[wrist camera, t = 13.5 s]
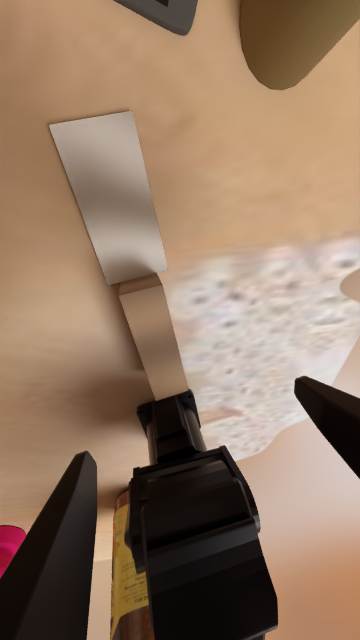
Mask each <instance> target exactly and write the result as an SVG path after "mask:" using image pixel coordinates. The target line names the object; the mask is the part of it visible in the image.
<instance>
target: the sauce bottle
mask: <svg viewBox="0 0 360 640" xmlns="http://www.w3.org/2000/svg"><path fill="white" fill-rule="evenodd" d="M128 501H129V490H128V491H126V492H124V493H122V494H121V495H120V496H119V497H118V498H117V500H116V503H115V512H114V517H113V552H112V584H111V585H112V590H111V632H110V640H155V639H154V633H153V630H152V628H151V623H150V613H149V602H148V592H147V582H146V571H145V572H142V573H140V574H137V573H136V570H135V564H134V560H133V558H132V552H131V550H130V549H129V548H128V547H127V546H126V545H125V542H124V533H125V525H126V518H127V511H128Z"/></svg>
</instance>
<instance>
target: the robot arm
mask: <svg viewBox="0 0 360 640" xmlns="http://www.w3.org/2000/svg"><path fill="white" fill-rule="evenodd" d="M294 393H295V396H296V398H297V399H298V401H299V402H300V403H301V405H302V406H303V408H304V409H305V411H306V412H307V414H308V415H309V416H310V418H311V419H312V421H313V422H314V424H315V425H316V426H317V428H318V429H319V430H320V432H321V433H322V434H323V436H324V437H325V438H326V439H327V440H328V442H330V444H331V445H332V446H333V448H334V449H335V450H336V451H337V452H338V454H339V455H340V456H341V457H342V458H343V460H344V461H345V462H346V463H347V464H348V466H349V467H350V468H351V469H352V470H353V471H354V473H355V474H356V475H357V476H358V478H359V479H360V398H358V397H355V396H352V395H350V394H348V393H345V392H343V391H341V390H338V389H336V388H333V387H331V386H329V385H326V384H324V383H321V382H319V381H317V380H314V379H312V378H309V377H307V376H301V377H299V378H296V379H295V386H294ZM188 395H189V396H188ZM140 410H142V411H140ZM137 415H138V417H139V419H140V422H141V424H142V426H143V429H144V431H145V433H146V436H147V438H148V449H149V460H150V465H149V466H145V467H141V468H140V467H137V468H133V478H131V481H130V482H129V501H128V511H127V518H126V525H125V533H124V542H125V545H126V546H127V547H128V548H129V549H130V550H131V552H132V558H133V560H134V564H135V570H136V573H137V574H140V573H142V572H145V571H146V582H147V592H148V602H149V613H150V623H151V628H152V630H153V633H154V639H155V640H265V633H267V632H269V631H271V630H274V629H276V628H277V626H278V605H277V596H276V593H275V590H274V587H273V584H272V581H271V578H270V575H269V572H268V569H267V566H266V563H265V559H264V556H263V553H262V549H261V545H260V542H259V538H258V533H259V532H260V519H259V514H258V510H257V507H256V503H255V500H254V498H253V495H252V492H251V490H250V488H249V486H248V484H247V482H246V480H245V478H244V476H243V475H242V473H241V471H240V470H239V468H238V467H237V465H236V463H235V461H234V460H233V458H232V456H231V455H230V453H229V451H228V450H227V448H226V446H225V445H223V446H219V448H216V449H212V450H208V451H207V449H206V446H205V443H204V440H203V437H202V434H201V431H200V428H201V425H200V421H199V417H198V412H197V408H196V403H195V399H194V395H193V392H192V391H186V392H182V393H179V394H176V395H173V396H170V397H167V398H164V399H161V400H158V401H154V402H151V403H148V404H145V405H141V406H139V407H138V408H137ZM96 522H97V465H96V462H95V460H94V459H93V458H92V456H91V455H90V453H89V452H88V451H84V452H81V453H78V454H76V455H75V457H74V458H73V460H72V461H71V463H70V465H69V466H68V468H67V470H66V471H65V473H64V475H63V476H62V478H61V480H60V481H59V483H58V484H57V486H56V488H55V489H54V491H53V493H52V494H51V496H50V498H49V499H48V501H47V502H46V504H45V506H44V507H43V509H42V511H41V512H40V514H39V516H38V517H37V519H36V520H35V522H34V524H33V525H32V527H31V529H30V530H29V532H28V534H27V535H26V537H25V539H24V540H23V542H22V543H21V545H20V547H19V548H18V550H17V552H16V553H15V555H14V557H13V558H12V560H11V561H10V563H9V565H8V566H7V568H6V570H5V571H4V573H3V575H2V576H1V578H0V640H86V639H87V628H88V616H89V604H90V592H91V580H92V569H93V558H94V546H95V534H96Z"/></svg>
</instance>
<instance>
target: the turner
mask: <svg viewBox="0 0 360 640" xmlns="http://www.w3.org/2000/svg"><path fill="white" fill-rule="evenodd" d="M49 128H50V130H51V133H52V136H53V138H54V141H55V144H56V147H57V149H58V152H59V155H60V157H61V160H62V163H63V165H64V168H65V171H66V173H67V176H68V179H69V182H70V184H71V187H72V190H73V192H74V195H75V198H76V200H77V203H78V206H79V209H80V211H81V214H82V217H83V219H84V222H85V225H86V227H87V230H88V233H89V236H90V238H91V241H92V244H93V246H94V249H95V252H96V254H97V257H98V260H99V263H100V265H101V268H102V271H103V273H104V276H105V279H106V281H107V284H108V285H112V284H116V283H120V289H119V299H120V301H121V304H122V307H123V310H124V313H125V315H126V318H127V321H128V324H129V327H130V330H131V332H132V335H133V338H134V341H135V344H136V346H137V349H138V352H139V355H140V358H141V361H142V363H143V366H144V369H145V372H146V375H147V377H148V380H149V383H150V386H151V389H152V392H153V394H154V397H155V400H156V401H158V400H161V399H164V398H167V397H170V396H173V395H176V394H179V393H182V392H186V391H188V387H187V383H186V378H185V374H184V370H183V366H182V362H181V358H180V354H179V350H178V346H177V342H176V338H175V334H174V330H173V326H172V321H171V317H170V313H169V309H168V305H167V301H166V297H165V293H164V289H163V285H162V283H161V281H160V279H159V277H158V275H157V273H159V272H163V271H167V270H168V268H167V263H166V259H165V254H164V250H163V245H162V241H161V236H160V232H159V228H158V223H157V219H156V214H155V210H154V205H153V201H152V197H151V192H150V188H149V183H148V179H147V174H146V170H145V166H144V161H143V157H142V152H141V148H140V143H139V139H138V134H137V130H136V126H135V121H134V117H133V112H132V111H127V112H121V113H115V114H109V115H103V116H97V117H92V118H86V119H80V120H74V121H68V122H62V123H56V124H50V125H49Z"/></svg>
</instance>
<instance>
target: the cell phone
mask: <svg viewBox="0 0 360 640" xmlns="http://www.w3.org/2000/svg"><path fill="white" fill-rule="evenodd" d="M114 1H115V2H117V3H119V4H121V5H123V6H125V7H126V8H128V9H130V10H132V11H134V12H136V13H137V14H139V15H141V16H143V17H145V18H147V19H148V20H150V21H152V22H154V23H156V24H157V25H159V26H161V27H163V28H165V29H167V30H169V31H171V32H173V33H175V34H178V35H183V36H185V35H187V34H188V33H189V31H190V29H191V26H192V23H193V20H194V16H195V12H196V6H197V1H198V0H114Z"/></svg>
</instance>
